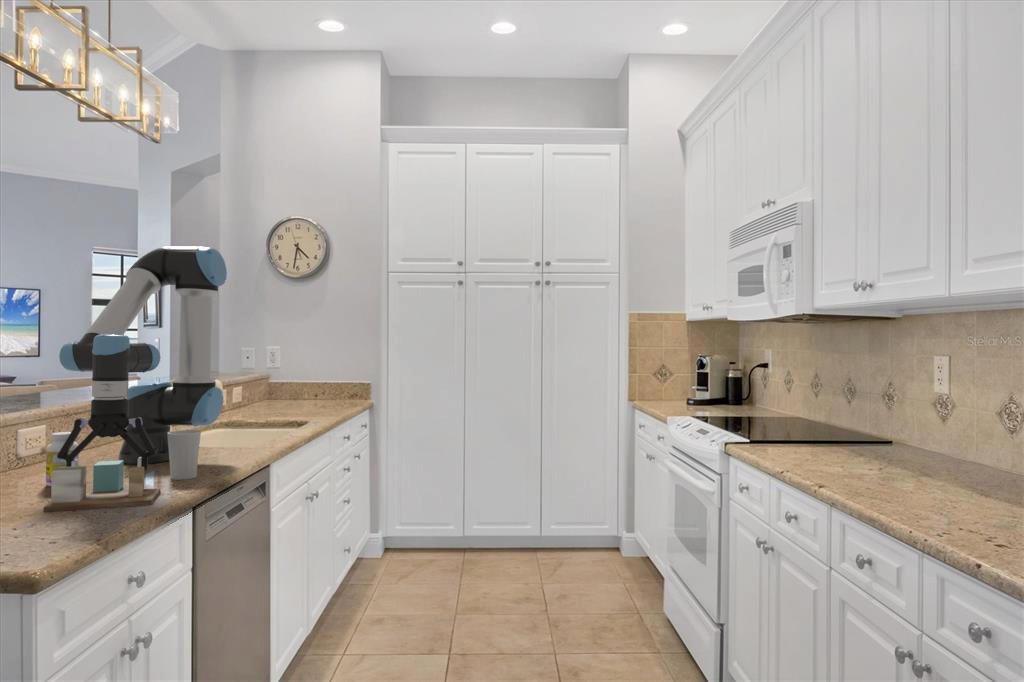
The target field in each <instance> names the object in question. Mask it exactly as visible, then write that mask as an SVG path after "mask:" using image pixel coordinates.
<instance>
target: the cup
mask: <svg viewBox="0 0 1024 682" xmlns="http://www.w3.org/2000/svg"><path fill="white" fill-rule="evenodd" d="M201 432H202V430H196V429H183V430H179V429H178V430H172V431H171V430H170V432H168V433H167V435H168V447H169V472H170V473H169V479H170V480H180V481H181V480H188V479H189V480H190V479H194V478H197V477H198V463H199V450H200V444H201V443H200V442H201V435H202V433H201Z"/></svg>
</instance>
